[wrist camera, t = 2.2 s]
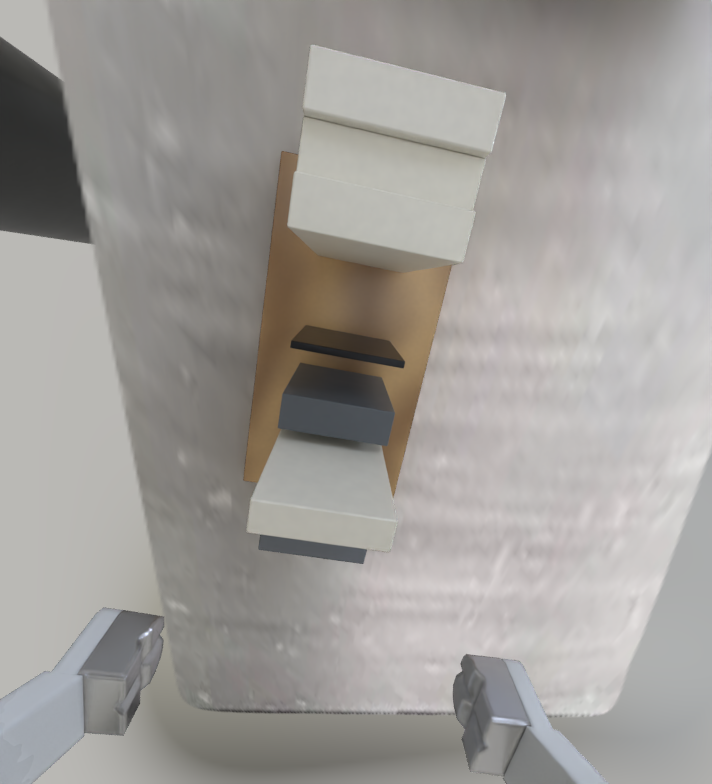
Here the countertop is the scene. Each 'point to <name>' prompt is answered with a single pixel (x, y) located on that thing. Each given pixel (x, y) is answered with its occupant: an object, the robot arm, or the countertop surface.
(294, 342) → the thin black tile
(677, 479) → the countertop surface
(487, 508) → the countertop surface
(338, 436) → the grey books
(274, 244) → the book board
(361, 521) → the thin cream book
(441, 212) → the cream books
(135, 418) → the countertop surface
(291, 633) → the countertop surface
